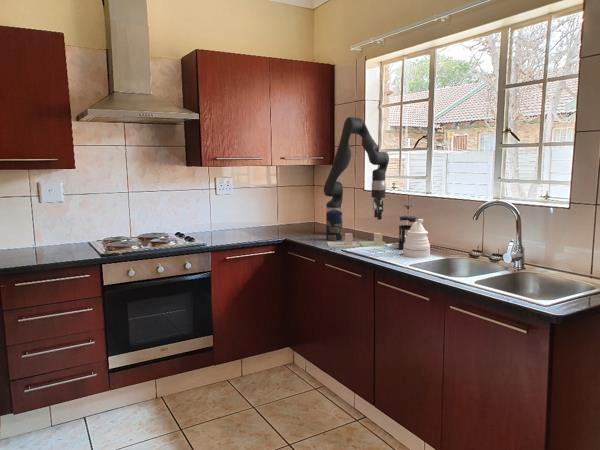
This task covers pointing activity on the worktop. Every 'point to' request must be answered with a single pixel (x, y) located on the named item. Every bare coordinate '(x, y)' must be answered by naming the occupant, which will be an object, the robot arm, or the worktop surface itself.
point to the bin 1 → (342, 244)
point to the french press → (404, 228)
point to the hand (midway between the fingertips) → (377, 218)
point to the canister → (334, 225)
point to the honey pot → (417, 241)
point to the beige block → (348, 238)
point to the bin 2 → (371, 244)
